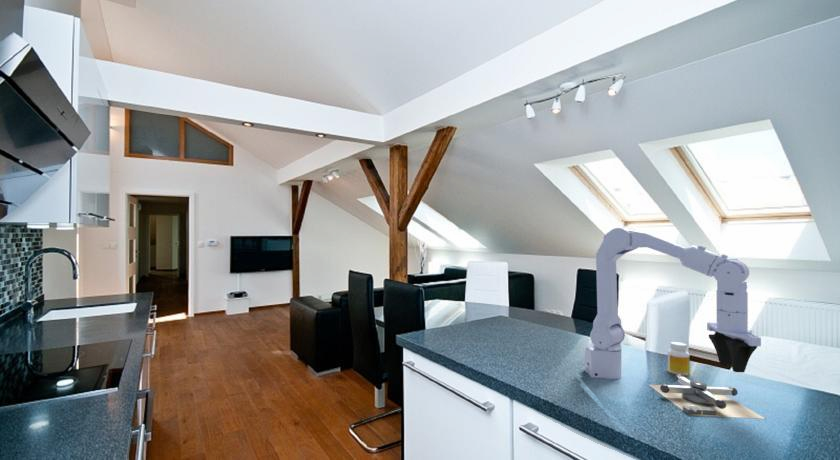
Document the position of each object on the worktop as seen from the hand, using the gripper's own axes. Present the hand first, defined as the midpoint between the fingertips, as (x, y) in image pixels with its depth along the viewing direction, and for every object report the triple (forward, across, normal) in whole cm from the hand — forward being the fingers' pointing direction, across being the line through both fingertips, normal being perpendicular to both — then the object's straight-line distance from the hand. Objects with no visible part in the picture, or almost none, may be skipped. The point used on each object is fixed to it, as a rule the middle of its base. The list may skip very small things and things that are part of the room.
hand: (732, 368), depth 90 cm
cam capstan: (+9, +5, +4) cm, 11 cm away
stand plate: (+10, +4, +4) cm, 12 cm away
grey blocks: (+9, -4, +10) cm, 14 cm away
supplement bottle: (+11, +24, -2) cm, 26 cm away
